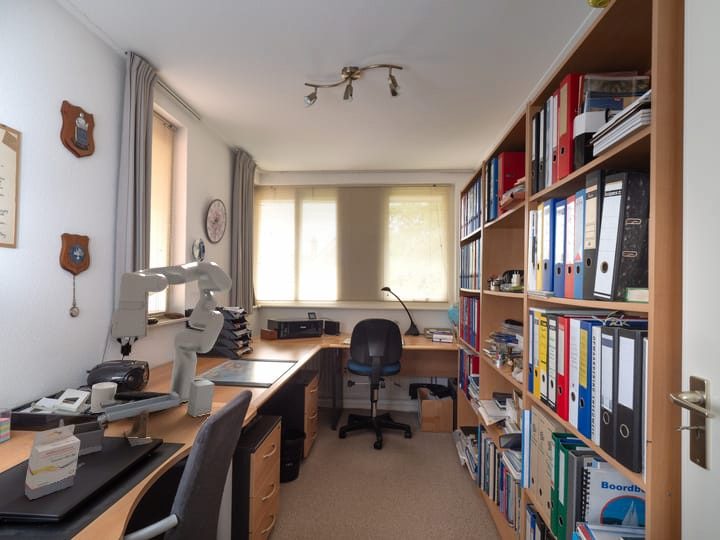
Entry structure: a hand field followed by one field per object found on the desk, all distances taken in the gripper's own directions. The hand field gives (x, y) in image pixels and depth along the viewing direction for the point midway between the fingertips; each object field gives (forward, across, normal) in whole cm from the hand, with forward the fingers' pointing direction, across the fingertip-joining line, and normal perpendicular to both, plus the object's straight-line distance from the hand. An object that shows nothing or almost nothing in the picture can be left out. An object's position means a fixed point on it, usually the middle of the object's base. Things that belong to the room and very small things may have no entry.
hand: (125, 355), depth 122 cm
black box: (+26, -10, -9) cm, 29 cm away
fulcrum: (+25, -3, +15) cm, 29 cm away
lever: (+16, -4, +11) cm, 20 cm away
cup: (+24, +13, +15) cm, 31 cm away
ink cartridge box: (+24, +20, +34) cm, 46 cm away
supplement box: (+26, -27, +5) cm, 38 cm away
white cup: (+26, +3, -16) cm, 30 cm away
